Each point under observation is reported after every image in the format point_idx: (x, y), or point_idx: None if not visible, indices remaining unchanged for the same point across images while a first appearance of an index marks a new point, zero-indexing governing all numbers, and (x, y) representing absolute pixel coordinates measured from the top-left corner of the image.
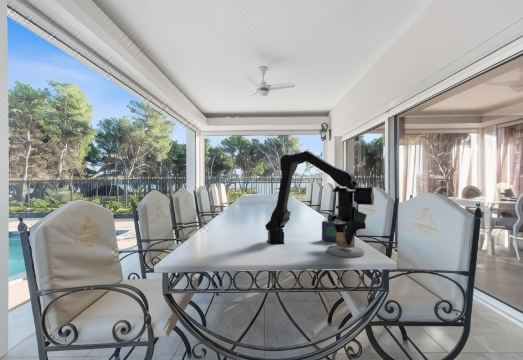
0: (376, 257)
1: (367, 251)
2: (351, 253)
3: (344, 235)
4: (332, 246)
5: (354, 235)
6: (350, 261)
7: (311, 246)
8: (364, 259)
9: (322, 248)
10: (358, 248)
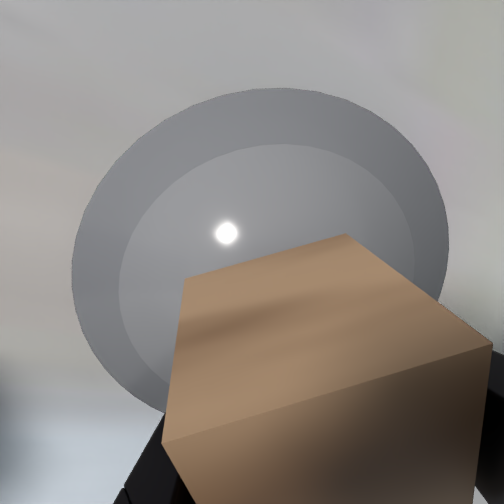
0: (493, 8)
1: (245, 4)
2: (411, 275)
3: (467, 497)
4: (152, 388)
5: (471, 329)
6: (500, 300)
7: (91, 493)
8: (500, 178)
9: (146, 433)
10: (228, 132)
